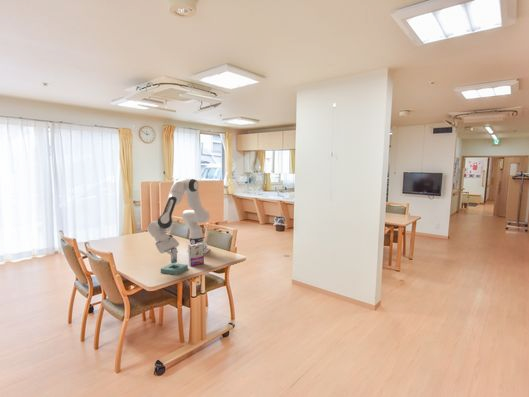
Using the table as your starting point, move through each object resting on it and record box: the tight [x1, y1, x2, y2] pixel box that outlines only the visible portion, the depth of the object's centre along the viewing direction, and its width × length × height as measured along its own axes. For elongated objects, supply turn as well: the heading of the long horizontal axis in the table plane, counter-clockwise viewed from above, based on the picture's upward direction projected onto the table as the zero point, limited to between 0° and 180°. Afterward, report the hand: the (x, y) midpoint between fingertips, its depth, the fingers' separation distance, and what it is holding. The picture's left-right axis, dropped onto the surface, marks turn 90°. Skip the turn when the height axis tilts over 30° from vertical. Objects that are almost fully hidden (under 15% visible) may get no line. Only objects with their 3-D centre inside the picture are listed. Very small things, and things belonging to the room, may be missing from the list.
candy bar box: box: [187, 243, 205, 267], centre depth 237 cm, size 11×5×16 cm, turn 126°
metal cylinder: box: [170, 247, 178, 264], centre depth 222 cm, size 4×4×10 cm
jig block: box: [160, 262, 189, 276], centre depth 223 cm, size 14×14×3 cm
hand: (174, 253), depth 221 cm, fingers closed on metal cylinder, 4 cm apart
